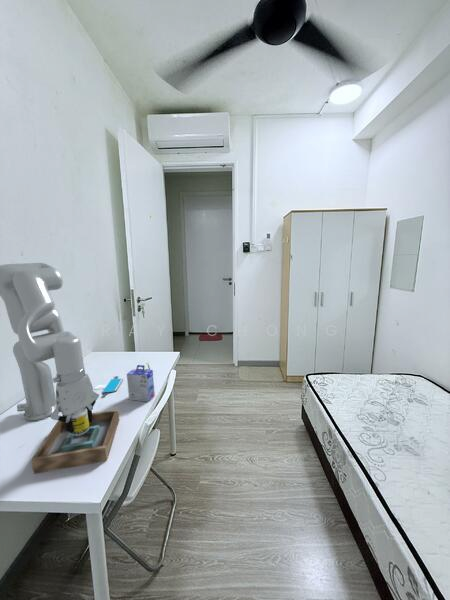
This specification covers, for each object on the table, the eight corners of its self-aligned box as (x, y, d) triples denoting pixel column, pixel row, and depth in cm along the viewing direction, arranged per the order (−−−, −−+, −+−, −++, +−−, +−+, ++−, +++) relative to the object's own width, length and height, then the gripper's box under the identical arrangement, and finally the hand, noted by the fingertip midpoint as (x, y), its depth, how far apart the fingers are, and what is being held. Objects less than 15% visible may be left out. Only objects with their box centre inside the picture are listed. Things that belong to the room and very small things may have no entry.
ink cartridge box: (155, 395, 115) (152, 364, 112) (149, 402, 110) (146, 370, 107) (135, 393, 117) (132, 363, 114) (128, 400, 112) (125, 369, 109)
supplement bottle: (69, 438, 83) (64, 410, 81) (73, 427, 88) (69, 401, 86) (87, 434, 84) (83, 407, 82) (91, 424, 89) (87, 398, 87)
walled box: (34, 473, 75) (31, 460, 74) (61, 428, 94) (59, 417, 94) (107, 460, 79) (105, 447, 78) (119, 419, 98) (118, 409, 98)
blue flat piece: (103, 378, 133) (103, 375, 133) (127, 376, 134) (127, 373, 134) (87, 400, 114) (86, 396, 113) (115, 398, 115) (114, 394, 114)
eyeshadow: (140, 371, 139) (139, 362, 138) (149, 369, 141) (148, 360, 140) (141, 374, 135) (140, 365, 134) (150, 372, 137) (150, 363, 136)
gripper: (47, 390, 73) (57, 446, 76) (103, 367, 87) (110, 415, 91) (35, 384, 77) (45, 437, 81) (91, 362, 91) (97, 409, 95)
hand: (79, 425), depth 86 cm, fingers closed on supplement bottle, 5 cm apart
